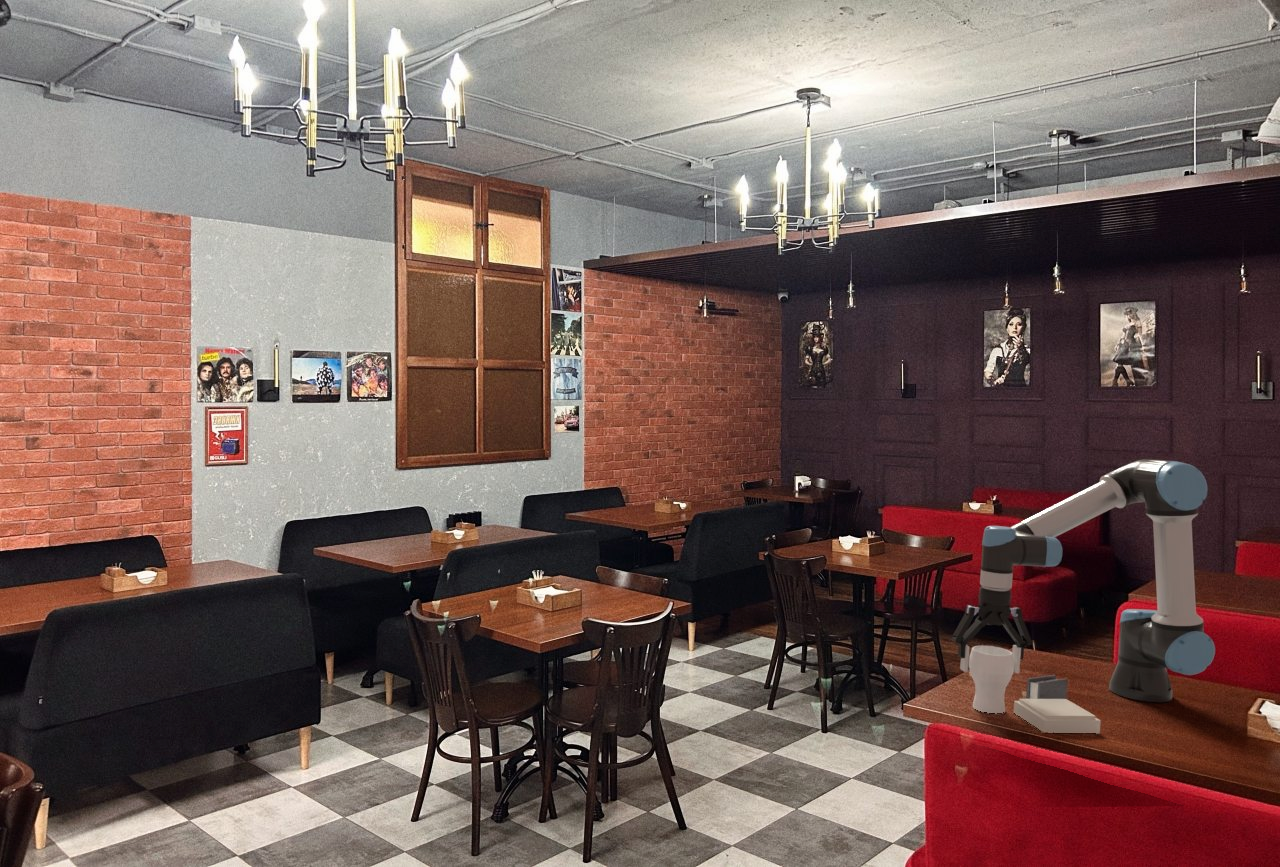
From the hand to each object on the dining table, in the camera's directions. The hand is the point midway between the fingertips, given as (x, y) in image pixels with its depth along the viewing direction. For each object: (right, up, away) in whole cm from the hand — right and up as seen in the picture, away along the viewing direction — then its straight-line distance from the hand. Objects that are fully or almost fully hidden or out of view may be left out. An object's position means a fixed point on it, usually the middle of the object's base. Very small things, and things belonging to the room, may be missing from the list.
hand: (989, 671), depth 234 cm
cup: (0, -10, 0) cm, 10 cm away
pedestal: (+13, -11, -8) cm, 19 cm away
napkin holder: (+16, -10, +5) cm, 20 cm away
